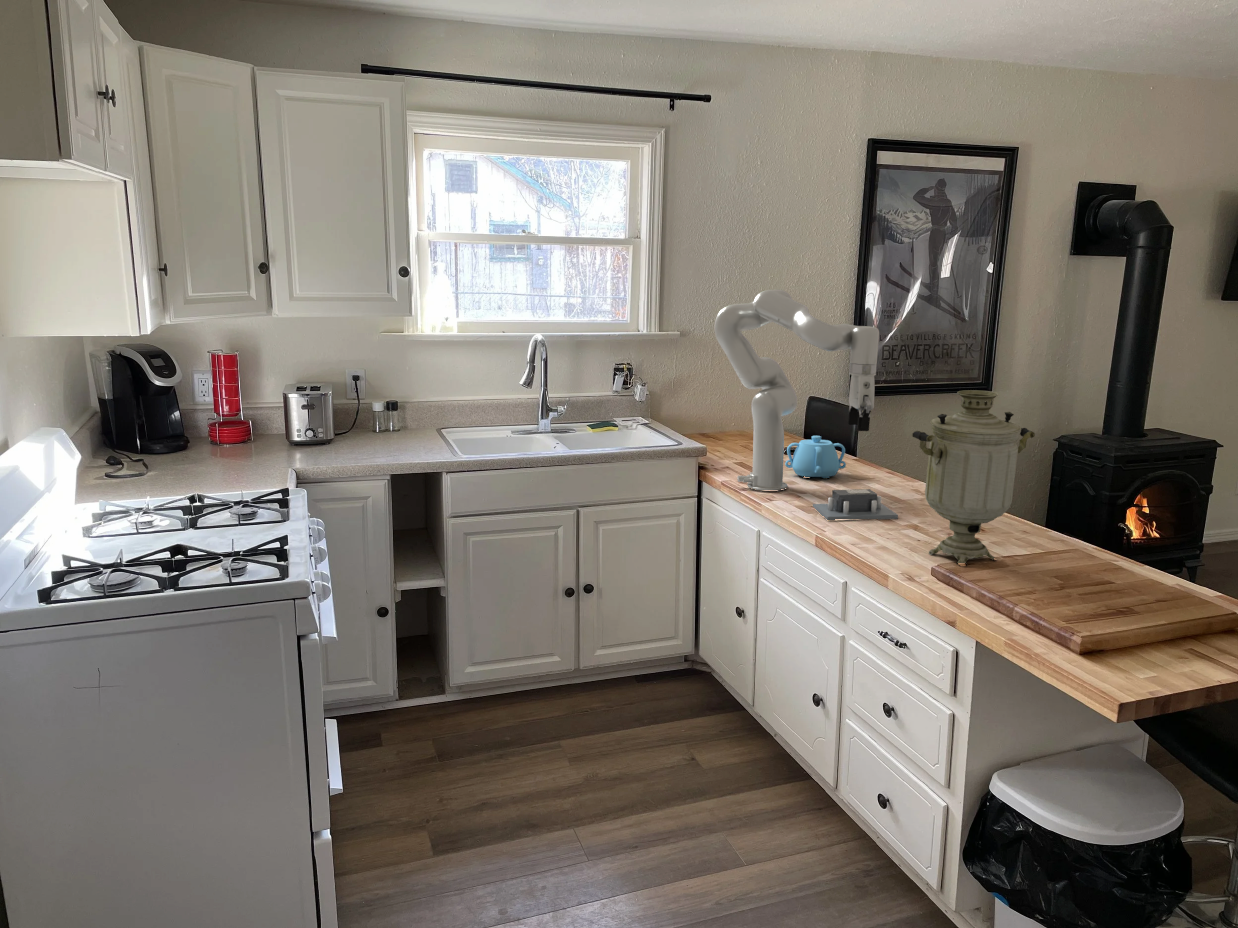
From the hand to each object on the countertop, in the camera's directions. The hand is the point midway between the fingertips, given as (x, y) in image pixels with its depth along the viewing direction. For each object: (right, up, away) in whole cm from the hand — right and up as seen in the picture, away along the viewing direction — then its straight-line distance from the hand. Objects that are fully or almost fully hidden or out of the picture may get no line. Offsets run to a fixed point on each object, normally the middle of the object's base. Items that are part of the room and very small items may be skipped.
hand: (858, 427), depth 268 cm
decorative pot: (-4, -15, +39) cm, 42 cm away
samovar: (+13, -33, -45) cm, 57 cm away
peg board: (-3, -25, -8) cm, 26 cm away
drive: (-3, -24, -8) cm, 25 cm away
